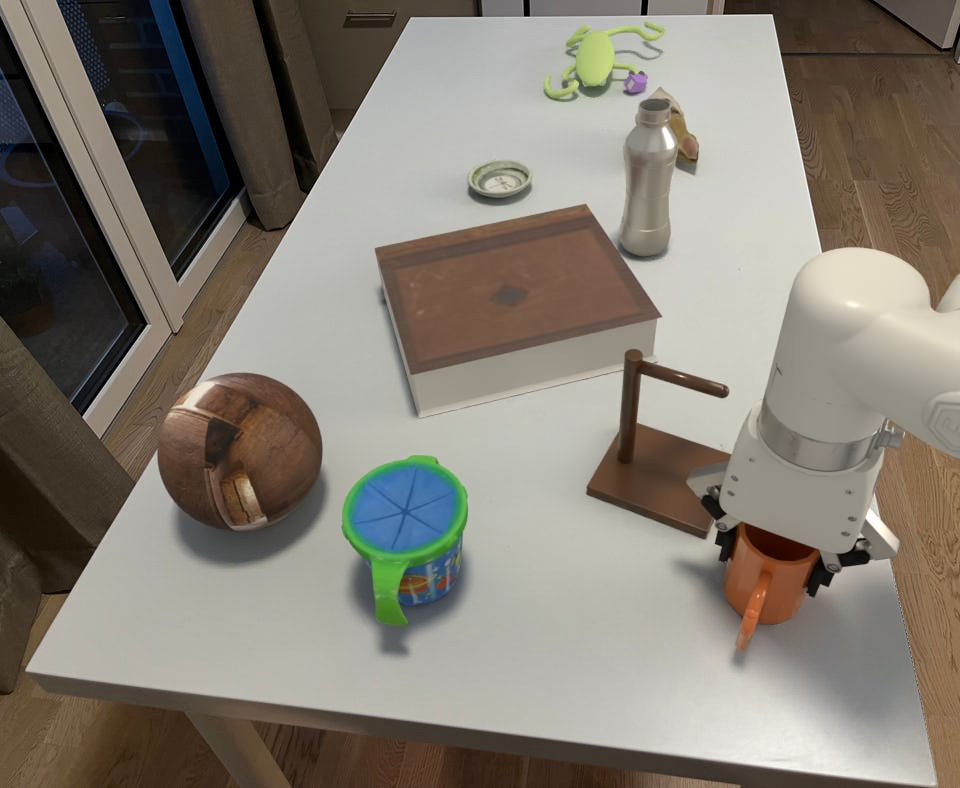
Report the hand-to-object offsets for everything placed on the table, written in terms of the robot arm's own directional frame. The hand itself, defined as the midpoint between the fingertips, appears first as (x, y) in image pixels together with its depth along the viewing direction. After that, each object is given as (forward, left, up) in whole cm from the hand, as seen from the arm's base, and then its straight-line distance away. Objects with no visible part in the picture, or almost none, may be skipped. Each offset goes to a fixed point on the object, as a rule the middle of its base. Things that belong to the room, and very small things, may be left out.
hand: (770, 564), depth 66 cm
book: (+37, -23, -4) cm, 44 cm away
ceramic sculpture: (+35, -69, -4) cm, 77 cm away
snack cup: (+28, +12, -4) cm, 31 cm away
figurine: (+55, -94, -4) cm, 109 cm away
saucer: (+53, -50, -4) cm, 73 cm away
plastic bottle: (+28, -44, -4) cm, 52 cm away
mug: (0, +2, -4) cm, 5 cm away
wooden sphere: (+47, +12, -4) cm, 49 cm away
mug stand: (+12, -8, -4) cm, 15 cm away
